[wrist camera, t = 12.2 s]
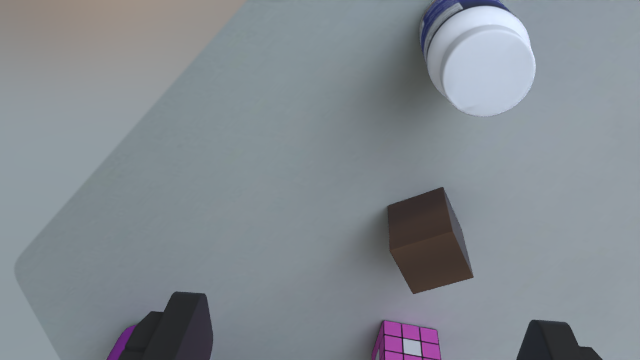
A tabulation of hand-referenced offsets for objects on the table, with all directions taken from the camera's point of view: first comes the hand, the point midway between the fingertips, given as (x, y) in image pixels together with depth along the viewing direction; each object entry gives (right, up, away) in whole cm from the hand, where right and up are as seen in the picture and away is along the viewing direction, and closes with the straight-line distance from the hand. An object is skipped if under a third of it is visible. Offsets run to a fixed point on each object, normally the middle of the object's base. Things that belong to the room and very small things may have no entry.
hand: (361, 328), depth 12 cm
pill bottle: (+9, +14, +21) cm, 27 cm away
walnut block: (+8, 0, +30) cm, 31 cm away
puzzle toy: (+8, -13, +39) cm, 42 cm away
